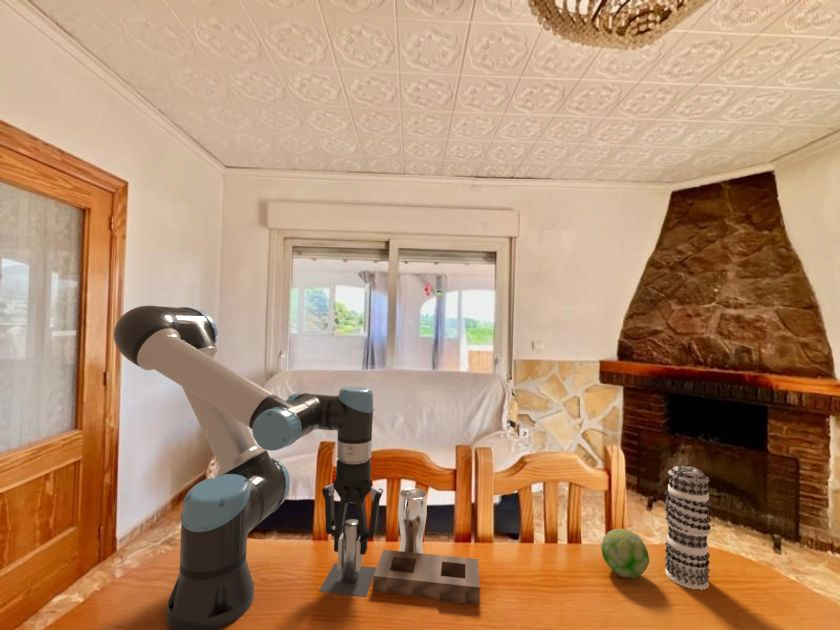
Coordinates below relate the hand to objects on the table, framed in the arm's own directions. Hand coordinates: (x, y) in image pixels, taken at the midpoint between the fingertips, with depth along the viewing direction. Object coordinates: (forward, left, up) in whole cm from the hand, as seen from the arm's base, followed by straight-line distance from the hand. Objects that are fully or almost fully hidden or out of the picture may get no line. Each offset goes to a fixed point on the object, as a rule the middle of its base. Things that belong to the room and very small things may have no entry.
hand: (349, 566), depth 88 cm
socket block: (+17, +2, -3) cm, 17 cm away
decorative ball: (+62, +13, -3) cm, 63 cm away
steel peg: (0, 0, -3) cm, 3 cm away
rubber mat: (0, 0, -3) cm, 3 cm away
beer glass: (+12, +12, -3) cm, 17 cm away
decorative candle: (+76, +14, -3) cm, 77 cm away
